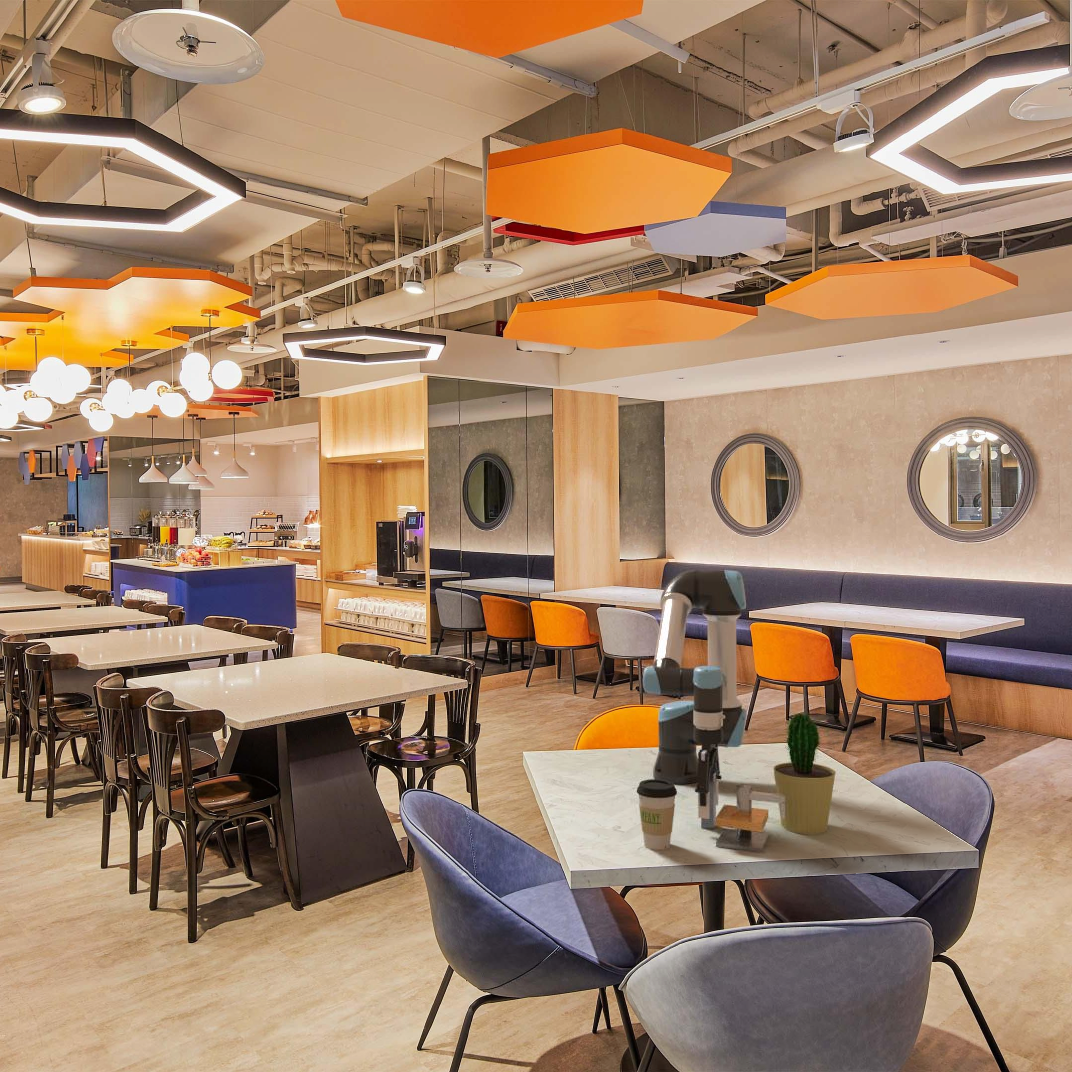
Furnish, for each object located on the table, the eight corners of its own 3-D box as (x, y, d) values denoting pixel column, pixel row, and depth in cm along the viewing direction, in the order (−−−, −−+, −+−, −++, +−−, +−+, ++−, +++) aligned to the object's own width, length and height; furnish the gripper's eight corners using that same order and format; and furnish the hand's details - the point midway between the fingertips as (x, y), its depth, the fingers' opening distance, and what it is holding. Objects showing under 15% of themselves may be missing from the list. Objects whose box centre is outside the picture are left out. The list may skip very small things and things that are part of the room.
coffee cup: (633, 838, 216) (632, 778, 216) (671, 837, 217) (671, 777, 217) (641, 853, 206) (641, 790, 206) (681, 852, 207) (681, 789, 207)
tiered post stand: (715, 846, 210) (715, 793, 210) (724, 831, 220) (724, 781, 220) (781, 855, 204) (781, 800, 204) (787, 840, 214) (786, 787, 214)
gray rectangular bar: (701, 827, 224) (701, 773, 223) (703, 823, 227) (703, 770, 226) (713, 829, 222) (713, 775, 222) (716, 825, 225) (715, 771, 225)
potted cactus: (827, 841, 213) (827, 720, 213) (765, 830, 221) (765, 713, 221) (841, 823, 226) (841, 709, 226) (783, 813, 234) (782, 703, 234)
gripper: (713, 738, 212) (714, 827, 212) (730, 718, 234) (731, 799, 234) (683, 735, 215) (683, 823, 215) (703, 716, 237) (703, 796, 237)
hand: (708, 811), depth 224 cm, fingers open, 11 cm apart
